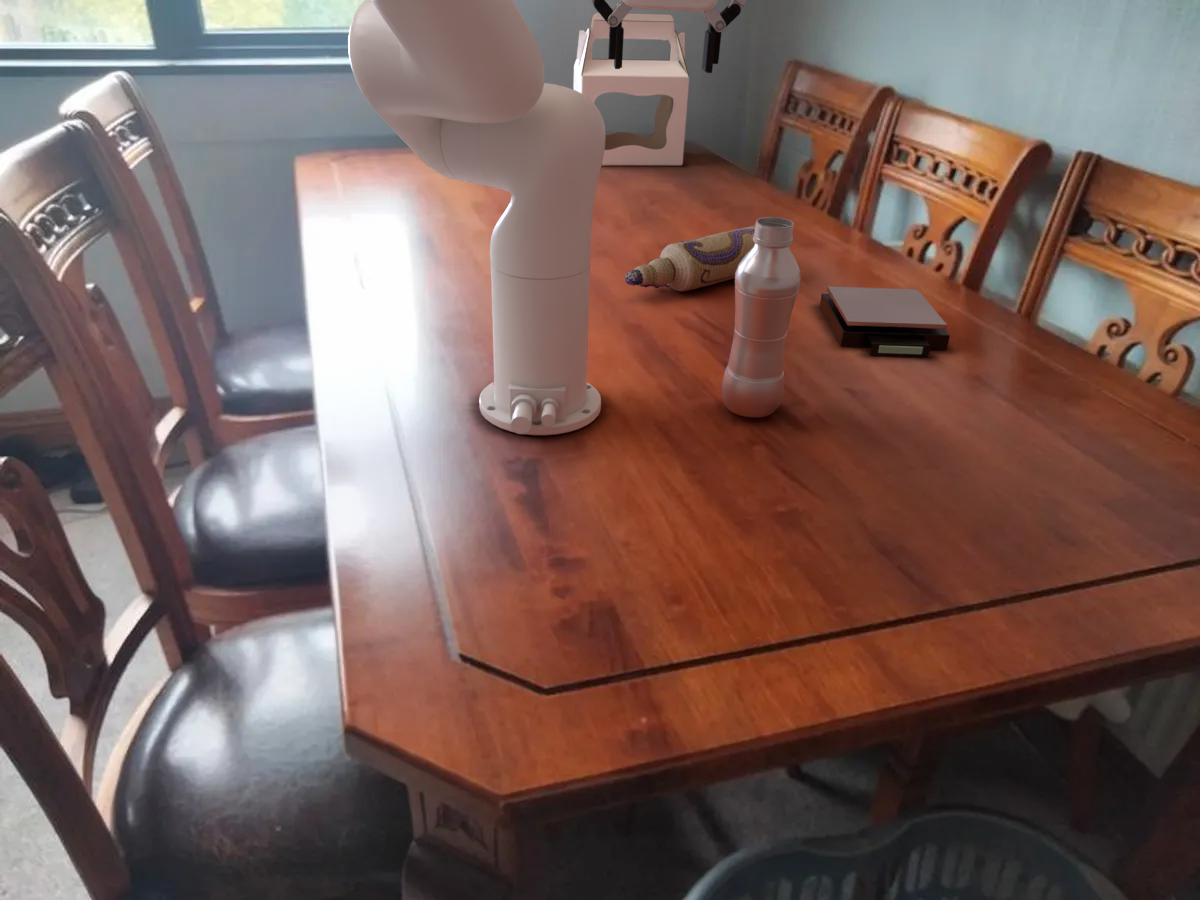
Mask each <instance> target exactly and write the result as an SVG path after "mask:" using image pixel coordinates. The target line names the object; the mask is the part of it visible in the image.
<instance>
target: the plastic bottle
mask: <svg viewBox="0 0 1200 900" xmlns="http://www.w3.org/2000/svg"><path fill="white" fill-rule="evenodd" d="M794 224H795V223H794V222H793V221H792V220H791V219H788V218H783V217H776V216H764V217H759V218H757V219H756V220H755V224H754V225H755V232H754V234H753V241H754V242H755V245H754V247H753V248H752V249H751V250H750V251H749V252H748V253H747V254H746V255H745V257H744V258H743V259H742V261H741V262H740V263H739V265H738V268H737V270H736V273H735V278H734V301H735V302H734V304H735V305H734V306H735V307H734V308H735V310H734V311H735V312H734V315H735V316H734V328H733V339H732V344H731V348H730V351H729V352H730V353H729V358H728V363H727V365H726V367H725V370H724V374H723V377H722V382H721V399H722V402H723V404H724V405H725V407H726V408H727V410H728V411H730V412H731V413H733V414H735V415H738V416H740V417H746V418H764V417H768V416H770V415H772V414H773V413H774V412H775V411H776V410H778V408H779V407H780V405H781V403H782V401H783V400H782V399H783V397H784V394H785V371H784V365H785V352H786V351H785V349H786V342H787V341H786V339H787V335H788V330H789V326H790V320H791V316H792V313H793V309H794V306H795V304H796V303H795V302H796V300H797V296H798V293H799V289H800V287H801V286H800V285H801V282H802V275H801V269H800V267H799V264H798V262H797V259H796V258H795V256H794V255H793V253H792V251H791V249H790V246H791V245H792V244H793V242H794V237H793V235H794V229H795V228H794V227H795V225H794Z"/></svg>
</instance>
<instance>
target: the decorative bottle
mask: <svg viewBox="0 0 1200 900" xmlns="http://www.w3.org/2000/svg"><path fill="white" fill-rule="evenodd" d="M754 232H755V224H753V225H750V226H747V227H746V226H745V227H741V228H736V229H731V230H728V231H721V232H719V233H712V234H709V235H706V236H701V237H696V238H693V239H687V240H680V241H679V242H674V243H670V244H668V245H666V246H665V247H664V248H663V249H662V250H661V253H660V256H659V257H657V258H655V259H652V260H650V262H649V263H647V264H641V265H637V266H636V267H635V268H634V269H632V270H629V271H628V272H627V273H626V274H625V276H624V280H625V281H624V282H625V283H626V285H629V286H633V287H634V286H638V287H641V288H648V287H654V288H655V289H659V288H661V287H667V288H669V287H670V288H671V289H672V290H674V291H676V292H686V291H688V292H689V291H691V290H697V289H699V288H704V287H709V286H711V285H713V286H714V285H715V284H718V283H719V284H720V283H722V282H725V281H726V282H727V281H731V280H735V273H736V270H737V268H738V265H739V263H740V262H741V261H742V259H743V258H744V257H745V255H746V254H747V253H748V252H749V251H750V250H751V249H752V248H753V247H754V245H755V242H754V241H753V234H754Z"/></svg>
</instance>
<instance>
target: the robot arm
mask: <svg viewBox="0 0 1200 900" xmlns="http://www.w3.org/2000/svg"><path fill="white" fill-rule="evenodd" d="M747 1H748V0H731V1H730V2H729V4H728V5H727V6H726V7H725V8H724V9H722V11H721V12H719V10H718V9H717V7H716V6H717V5H718V2H719V0H619V1H618V2H617V4H616V5H615V6H614V7H613V8H612V7H611V5H609V4H608V2H607V1H606V0H591V2H592V5H593V7H594V8H595V10H596V11H597V13H600V15H601V16H602V17H603V18H604V19H605V21H606V22H607V23H608V24H609V26H610V27H609V38H608V54H607V59H612V60H614V67H615V69H620V68H622V59H623V55H624V54H623V53H624V39H623V37H624V29H623V27H622V20H623V19H624V17H625V16H626V15H627V14H628V13H630V11H631V10H633V9H640V10H653V11H654V10H655V11H676V12H701V13H702V15H703V16H704V19H706V21H707V23H708V27H707V29H706V30H705V31H704V41H703V52H702V53H703V54H702V60H701V61H702V62H701V69H702V71H704V73H706V74H712V73H713V67H714V65H718V64H719V60H720V51H721V42H722V32H724V31H725V30H726V28H727V27H728V26H729V25H730V24H731V23H732V22H733V21H734V20H735V19H736V18H737V17H738V16H739V15H740V14H741V12H742V9H743V8H744V7H745V5H746V3H747ZM347 44H348V45H347V46H348V47H347V48H348V58H349V59H348V60H349V62H350V67H351V71H352V74H353V78H354V80H355V83H356V84H357V87H358V89H359V90H360V93H361V94H362V96H363V97H364V99H365V100H366V102H367V103H368V105H369V106H370V107H371V108H372V110H374V111H375V113H376V114H377V115H378V116H379V117H380V118H381V119H382V120H383V121H384V122H385V123H386V125H388V126H389V128H390V129H391V130H392V131H393V132H394V133H395V134H396V135H397V136H398V137H399V138H400V139H401V140H402V141H403V142H404V143H405V145H407V147H408V148H410V150H412V152H413V153H414V154H415V155H416V156H417V157H418V158H419V159H420V160H421V161H422V162H423V163H424V164H425V165H426V166H427V167H429V168H430V169H431V170H433V171H434V172H436V173H437V174H439V175H441V176H443V177H444V178H447V179H450V180H455V181H458V182H463V183H467V184H471V185H472V184H473V185H476V186H477V185H478V186H483V187H489V188H493V189H497V190H500V191H505V192H508V193H510V201H509V203H508V204H507V207H506V209H505V210H504V212H503V213H502V214H501V215H500V217H499V219H498V220H497V221H496V223H495V225H494V227H493V229H492V234H491V236H490V242H489V243H490V244H489V246H490V247H489V263H490V282H491V284H490V285H491V317H492V319H491V320H492V353H493V354H492V355H493V381H491V382H490V383H489V384H488V385H486V386H485V387H484V388H483V389H482V391H481V393H480V394H479V398H478V403H479V411H480V414H481V415H482V417H483V418H484V420H486V421H488V422H489V423H490V424H491V425H493V426H495V427H496V428H499V429H502V430H505V431H508V432H511V433H515V434H517V435H529V436H552V435H561V434H566V433H570V432H573V431H577V430H580V429H583V428H584V427H586V426H588V425H589V424H591V423H593V421H595V420H596V419H597V417H598V416H599V415H600V413H601V410H602V398H601V394H600V392H599V391H598V389H597V388H596V387H595V386H593V385H592V384H591V383H590V382H588V359H589V356H588V355H589V325H590V323H589V322H590V292H591V291H590V289H591V288H590V287H591V249H592V229H593V218H594V217H593V216H594V208H595V199H596V195H597V194H596V193H597V189H598V183H599V177H600V173H601V170H602V166H601V165H602V161H603V155H604V149H605V138H606V135H607V133H606V126H605V121H604V118H603V115H602V113H601V111H600V109H599V108H598V106H597V104H595V102H594V103H593V102H592V101H591V100H590V99H589V98H588V97H586V96H585V95H583V94H582V93H580V92H578V91H575V90H573V89H574V88H573V89H572V88H570V87H567V86H564V85H560V84H554V83H548V82H545V63H544V59H543V55H542V53H541V50H540V47H539V45H538V42H537V41H536V38H535V36H534V34H533V32H532V30H531V29H530V26H529V25H528V23H527V22H526V20H525V18H524V17H523V15H522V13H521V12H520V10H519V8H518V7H517V5H516V3H515V2H514V0H363V2H361V4H359V6H358V8H357V9H356V10H355V12H354V15H353V17H352V19H351V22H350V25H349V29H348V37H347Z"/></svg>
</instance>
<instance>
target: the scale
mask: <svg viewBox="0 0 1200 900" xmlns="http://www.w3.org/2000/svg"><path fill="white" fill-rule="evenodd" d="M826 291H827V293H821V295H820V301H819V310H820V312H821V313H822V315H823V316H824V319H825V320H826V322H827V324H828V326H829V328H830V330H831V332H832V333H833V335H834V337H835V339H836V341H837V342H838V345H839V346H840V347H841V348H865V349H866V351H867V353H868V354H869V356H879V357H881V356H882V357H904V358H905V357H907V358H909V357H910V358H928V357H929V353H930V351H947V349H948V345H949V341H950V337H951V335H950V334H949V332H948V331H947V330H946V329H947V325H948V324H947V322H946V321H945V320H944V319H943V318H942V316H941V315H940V314H939V313H938V312H937V311H936V309H935V308H934V307H933V305H931V303H930V302H929V301H928V300H927V299H926V297H924V295H923V294H922V293H921V291H920V290H919V289H917V288H916V289H915V288H886V287H858V286H854V287H853V286H829V285H828V286H827V288H826Z"/></svg>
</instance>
